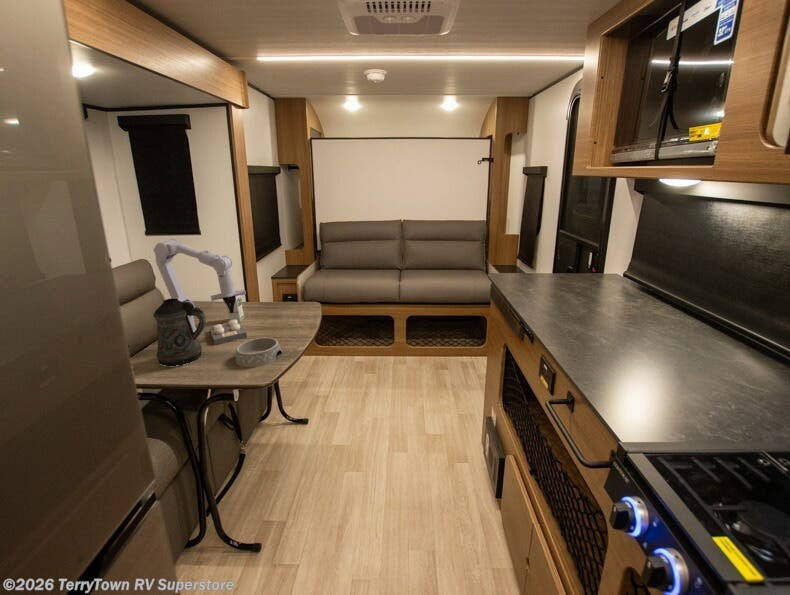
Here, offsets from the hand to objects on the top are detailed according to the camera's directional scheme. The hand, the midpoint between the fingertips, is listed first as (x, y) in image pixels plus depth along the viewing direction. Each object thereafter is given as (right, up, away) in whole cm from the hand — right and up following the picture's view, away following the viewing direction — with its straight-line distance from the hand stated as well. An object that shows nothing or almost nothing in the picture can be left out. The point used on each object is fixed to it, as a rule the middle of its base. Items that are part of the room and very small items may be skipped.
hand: (231, 312), depth 185 cm
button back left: (-8, -9, +5) cm, 14 cm away
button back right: (-2, -7, +8) cm, 11 cm away
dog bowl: (+20, -17, -21) cm, 34 cm away
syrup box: (-6, -5, +22) cm, 23 cm away
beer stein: (-12, -18, -18) cm, 28 cm away
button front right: (+1, -9, +3) cm, 9 cm away
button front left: (-5, -10, -1) cm, 11 cm away
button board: (-3, -10, +3) cm, 11 cm away
